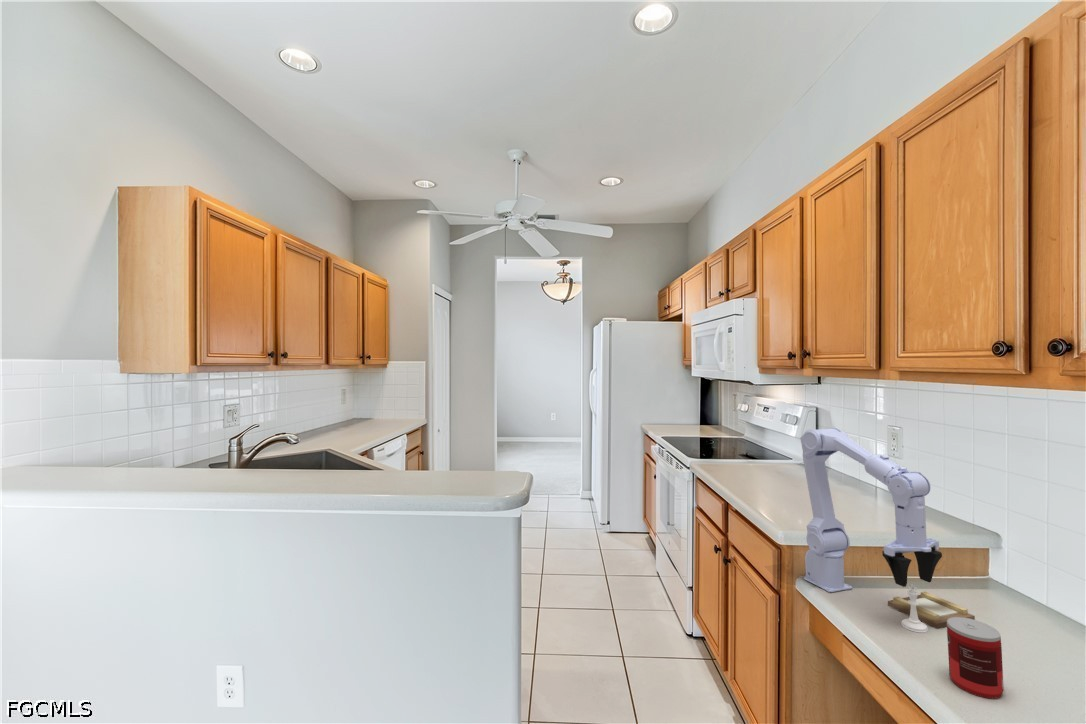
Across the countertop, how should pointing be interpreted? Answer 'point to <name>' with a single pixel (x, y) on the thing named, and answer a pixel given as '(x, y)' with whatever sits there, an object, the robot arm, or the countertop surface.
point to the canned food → (975, 657)
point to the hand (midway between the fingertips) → (913, 582)
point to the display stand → (931, 609)
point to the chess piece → (913, 614)
